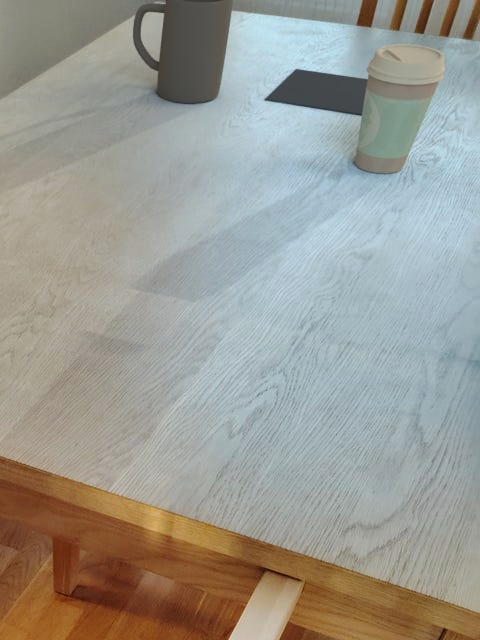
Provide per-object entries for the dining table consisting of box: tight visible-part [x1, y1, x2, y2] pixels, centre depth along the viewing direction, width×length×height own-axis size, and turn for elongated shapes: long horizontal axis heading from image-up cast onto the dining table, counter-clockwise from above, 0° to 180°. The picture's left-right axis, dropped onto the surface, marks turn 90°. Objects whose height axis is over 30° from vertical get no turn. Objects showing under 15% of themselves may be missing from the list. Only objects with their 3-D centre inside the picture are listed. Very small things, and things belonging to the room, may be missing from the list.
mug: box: [132, 0, 234, 104], centre depth 126 cm, size 14×9×12 cm
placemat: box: [264, 68, 368, 116], centre depth 128 cm, size 20×15×1 cm
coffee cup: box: [354, 43, 446, 175], centre depth 107 cm, size 8×8×12 cm
